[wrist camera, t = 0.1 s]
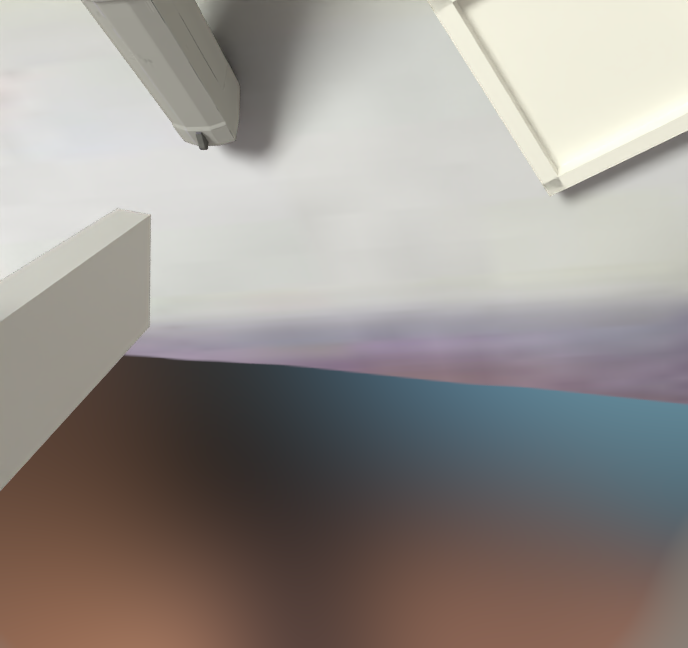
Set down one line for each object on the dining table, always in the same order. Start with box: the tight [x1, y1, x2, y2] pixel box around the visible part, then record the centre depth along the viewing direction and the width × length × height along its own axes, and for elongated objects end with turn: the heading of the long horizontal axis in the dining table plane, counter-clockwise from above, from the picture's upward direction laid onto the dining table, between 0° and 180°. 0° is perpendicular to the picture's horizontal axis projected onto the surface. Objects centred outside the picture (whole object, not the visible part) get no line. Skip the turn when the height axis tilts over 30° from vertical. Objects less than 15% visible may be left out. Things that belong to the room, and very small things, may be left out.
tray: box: [427, 0, 688, 196], centre depth 35 cm, size 12×14×2 cm
